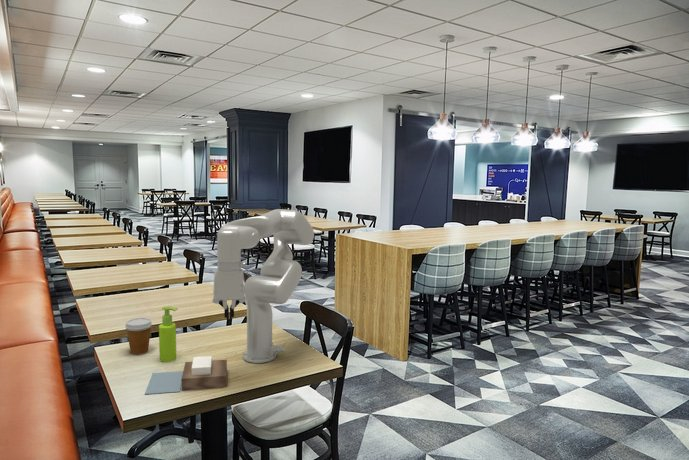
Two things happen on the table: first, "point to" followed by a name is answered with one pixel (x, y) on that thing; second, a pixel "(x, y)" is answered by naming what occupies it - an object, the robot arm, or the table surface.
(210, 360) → the tile
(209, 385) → the brown wooden block
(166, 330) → the soap dispenser
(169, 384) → the mat
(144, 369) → the table surface
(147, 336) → the disposable coffee cup
